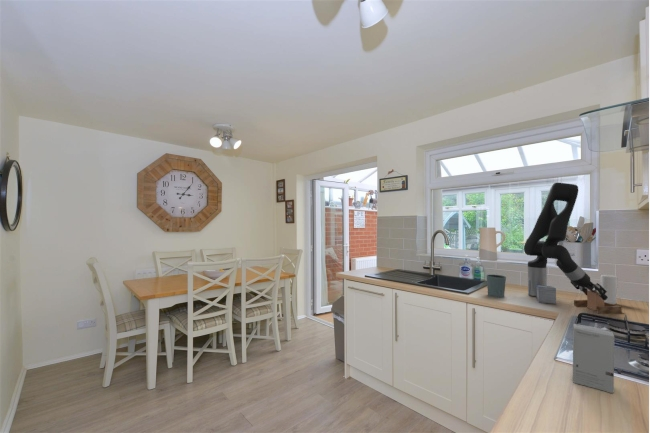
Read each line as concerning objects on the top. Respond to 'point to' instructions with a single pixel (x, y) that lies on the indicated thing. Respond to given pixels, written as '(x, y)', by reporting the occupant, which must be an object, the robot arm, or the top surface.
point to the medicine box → (546, 294)
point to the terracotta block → (594, 300)
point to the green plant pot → (496, 285)
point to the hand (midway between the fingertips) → (597, 296)
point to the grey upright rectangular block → (593, 357)
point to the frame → (601, 307)
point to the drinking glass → (610, 287)
